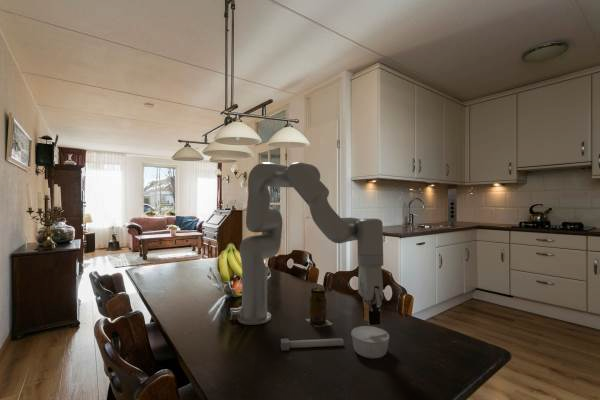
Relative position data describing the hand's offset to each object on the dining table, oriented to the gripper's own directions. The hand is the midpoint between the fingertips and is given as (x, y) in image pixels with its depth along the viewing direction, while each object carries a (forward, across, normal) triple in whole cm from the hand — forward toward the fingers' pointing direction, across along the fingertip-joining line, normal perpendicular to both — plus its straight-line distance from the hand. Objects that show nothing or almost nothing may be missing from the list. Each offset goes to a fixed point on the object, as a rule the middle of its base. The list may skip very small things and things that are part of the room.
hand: (371, 320), depth 90 cm
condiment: (+9, -23, -12) cm, 28 cm away
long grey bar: (+9, -4, -16) cm, 19 cm away
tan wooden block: (+1, 0, 0) cm, 1 cm away
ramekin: (+9, 0, 0) cm, 9 cm away
